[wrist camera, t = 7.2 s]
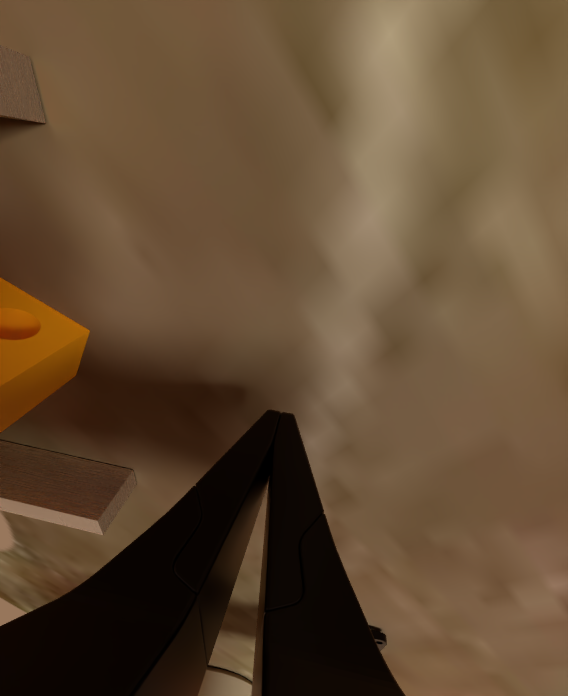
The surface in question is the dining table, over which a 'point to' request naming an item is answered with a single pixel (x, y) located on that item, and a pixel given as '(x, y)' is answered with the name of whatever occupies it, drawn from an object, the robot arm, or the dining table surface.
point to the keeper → (35, 464)
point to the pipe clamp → (33, 352)
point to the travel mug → (224, 684)
